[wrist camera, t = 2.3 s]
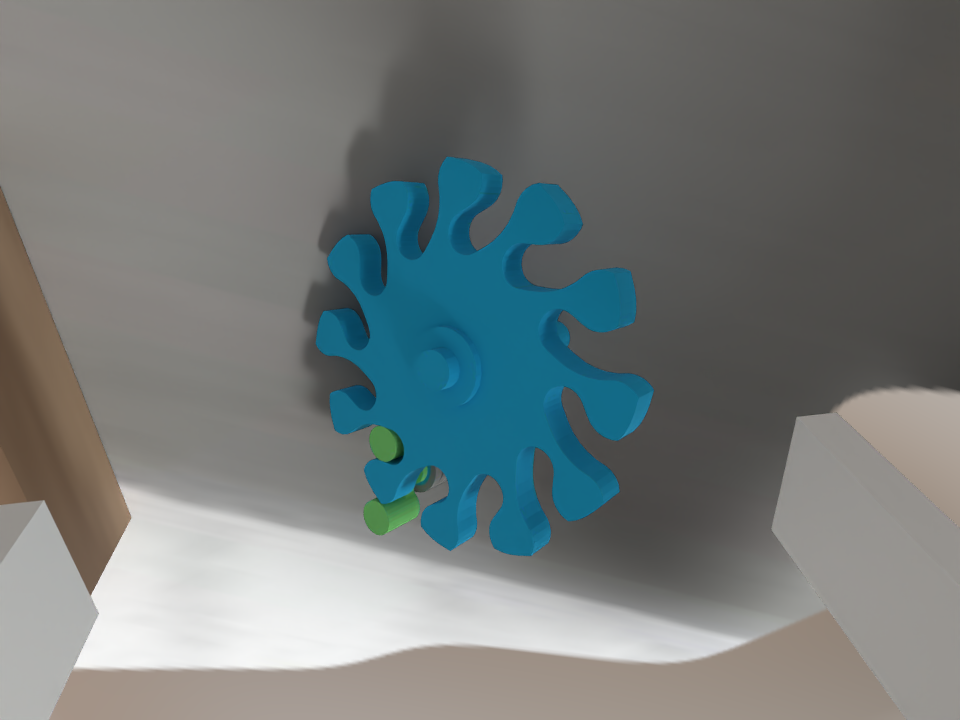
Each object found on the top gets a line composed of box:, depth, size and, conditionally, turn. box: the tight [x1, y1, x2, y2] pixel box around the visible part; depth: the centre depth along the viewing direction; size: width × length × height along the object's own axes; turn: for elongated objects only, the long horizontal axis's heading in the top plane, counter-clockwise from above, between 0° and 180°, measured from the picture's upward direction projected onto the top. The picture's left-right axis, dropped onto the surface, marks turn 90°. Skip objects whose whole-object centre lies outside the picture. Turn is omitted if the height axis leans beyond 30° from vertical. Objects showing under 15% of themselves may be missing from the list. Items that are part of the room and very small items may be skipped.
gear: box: [316, 157, 654, 556], centre depth 19 cm, size 11×6×10 cm
